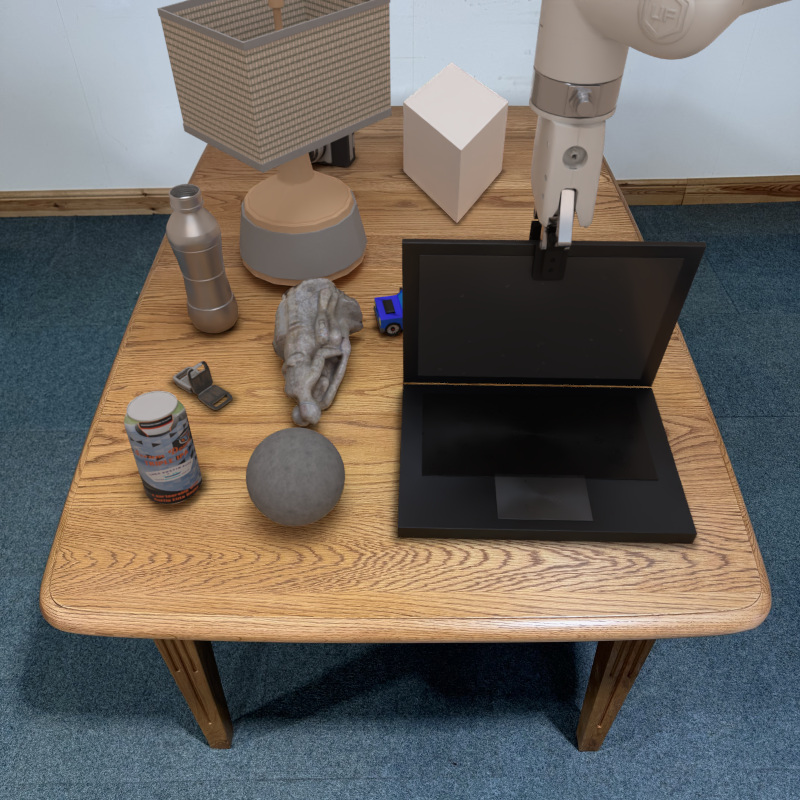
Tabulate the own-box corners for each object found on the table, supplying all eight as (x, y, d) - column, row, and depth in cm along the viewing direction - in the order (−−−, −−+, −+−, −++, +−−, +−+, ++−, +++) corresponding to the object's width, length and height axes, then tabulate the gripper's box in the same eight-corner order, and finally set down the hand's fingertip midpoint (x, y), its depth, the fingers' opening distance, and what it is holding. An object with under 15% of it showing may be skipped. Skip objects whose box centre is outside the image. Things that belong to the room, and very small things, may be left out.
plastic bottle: (232, 341, 96) (202, 207, 82) (184, 337, 97) (146, 203, 83) (247, 312, 101) (221, 179, 87) (201, 307, 101) (167, 175, 87)
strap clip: (171, 382, 91) (163, 357, 88) (190, 369, 92) (183, 344, 89) (216, 413, 87) (209, 387, 84) (235, 399, 89) (229, 373, 86)
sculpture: (350, 457, 89) (254, 440, 85) (352, 343, 99) (267, 324, 95) (380, 408, 80) (276, 388, 77) (379, 290, 91) (287, 267, 87)
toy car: (372, 311, 101) (371, 281, 97) (456, 300, 102) (458, 271, 99) (381, 341, 96) (380, 312, 93) (468, 329, 98) (471, 300, 94)
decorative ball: (366, 508, 77) (363, 446, 70) (290, 563, 72) (277, 502, 65) (310, 455, 82) (301, 392, 75) (235, 503, 77) (218, 441, 70)
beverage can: (148, 518, 76) (116, 442, 68) (146, 466, 81) (116, 389, 73) (209, 505, 77) (184, 429, 69) (203, 455, 82) (180, 378, 74)
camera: (268, 167, 130) (260, 112, 123) (286, 147, 136) (279, 93, 129) (341, 177, 127) (337, 122, 120) (356, 156, 133) (353, 102, 126)
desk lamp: (290, 320, 99) (250, 36, 73) (209, 265, 109) (148, -4, 83) (400, 255, 110) (399, -12, 84) (317, 210, 120) (293, -42, 94)
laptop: (692, 543, 74) (697, 533, 72) (397, 537, 74) (397, 526, 73) (648, 398, 88) (652, 386, 87) (403, 394, 89) (402, 382, 88)
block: (493, 127, 141) (499, 62, 133) (511, 223, 117) (519, 150, 108) (403, 127, 141) (403, 62, 133) (402, 223, 117) (402, 150, 108)
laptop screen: (707, 246, 71) (705, 241, 72) (401, 243, 72) (402, 238, 72) (651, 387, 87) (650, 382, 88) (402, 383, 88) (403, 378, 88)
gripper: (638, 133, 56) (593, 317, 70) (601, 53, 68) (569, 224, 81) (542, 132, 57) (515, 316, 70) (521, 53, 68) (502, 223, 81)
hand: (544, 265), depth 75 cm, fingers open, 3 cm apart
